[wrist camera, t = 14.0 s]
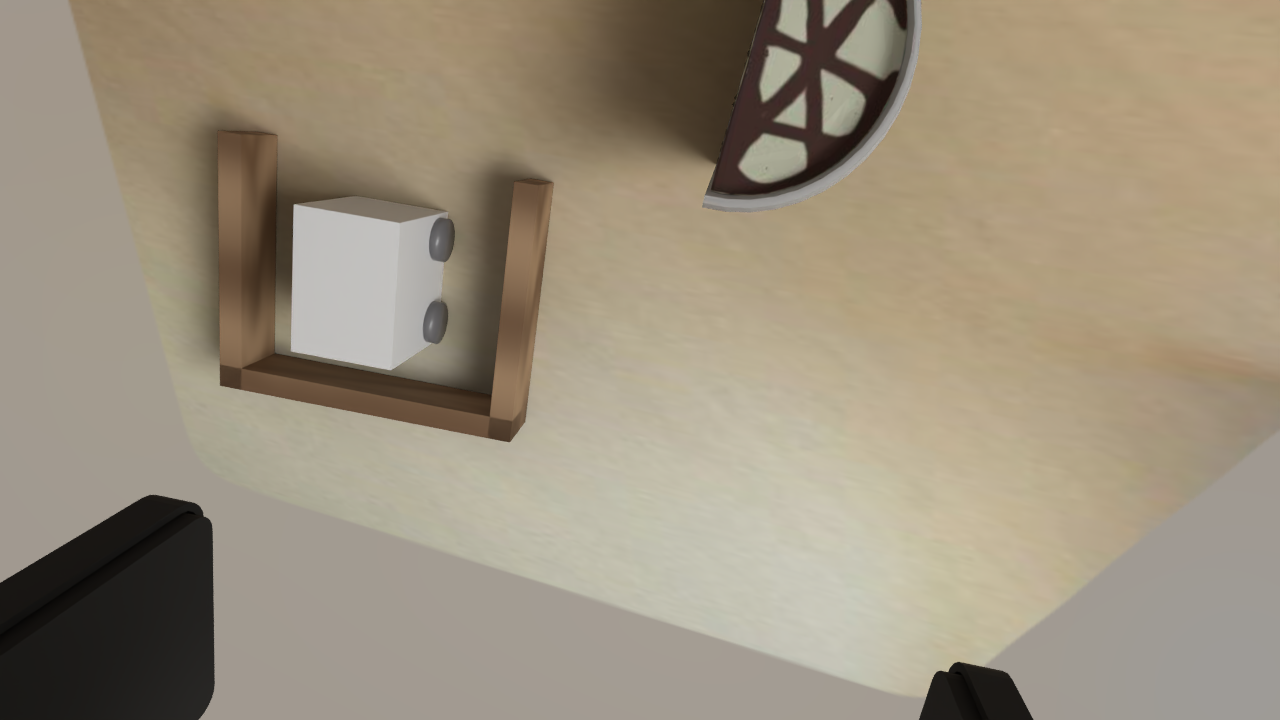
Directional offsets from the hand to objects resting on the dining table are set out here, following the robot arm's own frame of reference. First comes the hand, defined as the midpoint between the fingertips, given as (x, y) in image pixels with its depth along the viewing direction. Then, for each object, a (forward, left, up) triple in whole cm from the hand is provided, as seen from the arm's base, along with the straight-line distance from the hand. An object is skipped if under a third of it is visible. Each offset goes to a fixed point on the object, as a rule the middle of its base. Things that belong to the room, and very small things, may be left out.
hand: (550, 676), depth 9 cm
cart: (+2, -15, -30) cm, 34 cm away
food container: (-10, +4, -31) cm, 32 cm away
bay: (+3, -16, -30) cm, 34 cm away
